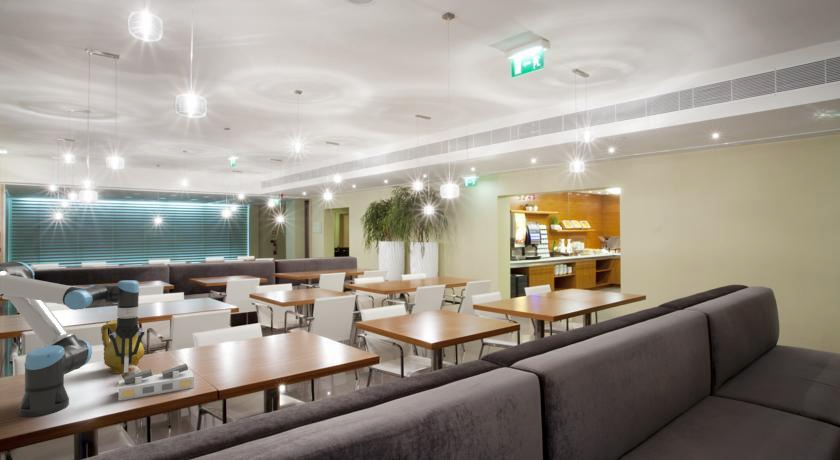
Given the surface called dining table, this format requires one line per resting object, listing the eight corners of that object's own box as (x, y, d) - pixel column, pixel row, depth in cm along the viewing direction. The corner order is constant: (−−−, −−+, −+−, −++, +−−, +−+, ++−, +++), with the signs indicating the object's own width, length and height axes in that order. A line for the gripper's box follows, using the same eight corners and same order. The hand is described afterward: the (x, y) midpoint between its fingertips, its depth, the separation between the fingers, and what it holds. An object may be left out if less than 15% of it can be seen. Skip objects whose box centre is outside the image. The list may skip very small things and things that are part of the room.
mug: (141, 384, 201) (129, 366, 200) (127, 390, 204) (115, 373, 202) (154, 374, 208) (142, 357, 207) (140, 381, 211) (128, 364, 209)
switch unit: (118, 401, 180) (118, 382, 180) (118, 391, 190) (118, 373, 190) (194, 387, 196) (194, 370, 196) (190, 379, 206) (190, 363, 206)
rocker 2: (163, 378, 192) (162, 374, 192) (162, 375, 197) (161, 371, 197) (188, 369, 198) (187, 366, 198) (186, 366, 202) (186, 363, 202)
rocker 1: (124, 384, 184) (124, 380, 184) (124, 380, 189) (124, 376, 189) (152, 376, 190) (151, 372, 190) (151, 372, 194) (150, 368, 194)
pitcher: (113, 376, 208) (114, 323, 210) (95, 371, 218) (96, 321, 219) (150, 368, 223) (151, 318, 224) (132, 363, 233) (133, 316, 234)
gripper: (108, 319, 180) (107, 376, 180) (146, 316, 188) (144, 371, 188) (109, 316, 186) (107, 371, 186) (145, 313, 194) (143, 366, 194)
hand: (126, 371), depth 187 cm, fingers closed
